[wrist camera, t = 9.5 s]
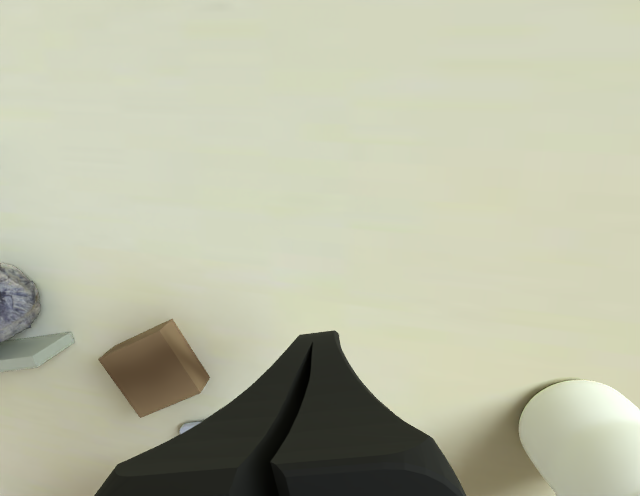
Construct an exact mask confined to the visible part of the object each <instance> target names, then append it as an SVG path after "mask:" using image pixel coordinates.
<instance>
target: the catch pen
mask: <svg viewBox="0 0 640 496" xmlns="http://www.w3.org/2000/svg"><path fill="white" fill-rule="evenodd" d="M73 343H74V339H73V337H72V334H71V332H68V333H60V334H53V335H46V336H39V337H32V338H24V339H17V340H10V341H3V342H0V372H6V371H14V370H21V369H29V368H37V367H39V366H40V365H42V364H43V363H45V362H46V361H48V360H49V359H51V358H52V357H53V356H55V355H56V354H58V353H59V352H61V351H62V350H64V349H65V348H67V347H68V346H70V345H71V344H73Z"/></svg>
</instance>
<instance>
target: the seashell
mask: <svg viewBox="0 0 640 496" xmlns="http://www.w3.org/2000/svg"><path fill="white" fill-rule="evenodd" d="M39 312H40V303H39V293H38V290H37V288H36V286H35V284H34V282H33V281H30V280H28V278H27V277H26V276H25V275H24V274H23V273H22V272H21V271H20V270H19V269H18V268H16V267H14V266H11V265H7V264H5V263H0V342H3V341H5V340H7V339H9V338H10V337H13V336H14V335H15V334H17V333H20V332H22V330H25V329H28V328H31V325H30V324H31V323H32V322H33V320H34V319H36V318H37V315H38V314H39Z"/></svg>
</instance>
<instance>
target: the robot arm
mask: <svg viewBox="0 0 640 496" xmlns="http://www.w3.org/2000/svg"><path fill="white" fill-rule="evenodd" d="M179 431H180V435H178V436H176V437H174V438H173V439H171V440H169V441H167V442H165V443H163V444H161V445H159V446H157V447H155V448H153V449H150V450H148V451H146V452H144V453H142V454H140V455H138V456H135V457H133V458H131V459H129V460H127V461H124V462H122V463H120V464H118V465H117V466H116V467H115V469H114V470H113V471H112V473H111V474H110V475H109V477H108V478H107V479H106V481H105V482H104V483H103V485H102V486H101V487H100V489H99V490H98V491H97V493H96V494H95V496H466V494H465V492H464V490H463V488H462V486H461V484H460V482H459V480H458V478H457V476H456V475H455V473H454V471H453V469H452V468H451V466H450V464H449V463H448V461H447V459H446V458H445V456H444V455H443V453H442V452H441V450H440V449H439V447H438V445H437V444H436V443H435V441H434V440H433V438H431V437H430V436H429V435H427V434H425V433H423V432H422V431H420V430H418V429H416V428H415V427H413V426H411V425H410V424H408V423H406V422H404V421H403V420H402V419H400V418H399V417H398V416H396V415H395V414H394V413H393V412H392V411H390V410H389V409H388V408H387V407H386V406H385V405H383V404H382V403H381V402H380V401H379V400H378V399H377V398H376V397H375V396H374V395H373V394H372V393H371V392H370V391H369V390H368V389H367V387H366V386H365V385H364V384H363V383H362V381H361V380H360V379H359V378H358V376H357V375H356V373H355V372H354V370H353V369H352V367H351V366H350V364H349V363H348V361H347V359H346V357H345V355H344V353H343V351H342V349H341V346H340V340H339V334H338V333H337V332H336V331H327V332H319V333H311V334H303V335H299V336H298V337H297V338H296V339H295V341H294V342H293V343H292V344H291V345H290V346H289V347H288V349H287V350H286V351H285V352H284V353H283V354H282V355H281V356H280V357H279V359H278V360H277V361H276V362H275V363H274V364H273V365H272V366H271V367H270V368H269V369H268V370H267V371H266V372H265V373H264V374H263V375H262V376H261V377H260V378H259V379H258V380H257V381H256V382H255V383H253V384H252V385H251V386H250V387H249V388H248V389H247V390H245V391H244V392H243V393H242V394H240V395H239V396H238V397H237V398H235V399H234V400H233V401H232V402H230V403H229V404H228V405H226V406H225V407H223V408H222V409H220V410H219V411H217V412H216V413H214V414H213V415H211V416H210V417H208V418H207V419H205V420H204V421H202V422H193V423H185V424H183V425H182V426H181V428H180V430H179Z"/></svg>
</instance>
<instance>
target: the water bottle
mask: <svg viewBox="0 0 640 496" xmlns="http://www.w3.org/2000/svg"><path fill="white" fill-rule="evenodd" d="M519 437H520V441H521V443H522V445H523V448H524V450H525V451H526V453H527V455H528V456H529V458H530V459H531V461H532V463H533V464H534V466H535V467H536V468H537V470H538V471H539V473H540V474H541V476H542V477H543V478H544V480H545V481H546V482H547V483H548V485H549V486H550V487H551V488H552V489H553V491H554V492H555V493H556V496H640V409H638V408H637V407H636V406H635V405H634V404H633V403H632V402H630V401H629V400H628V399H627V398H626V397H624V396H623V395H622V394H621V393H619V392H618V391H616V390H615V389H613V388H611V387H609V386H607V385H605V384H602V383H599V382H595V381H590V380H569V381H564V382H560V383H556V384H554V385H551V386H549V387H547V388H545V389H543V390H542V391H540V392H539V393H537V394H536V395H535V396H534V397H533V398H532V399H531V400H530V401H529V402H528V404H527V405H526V406H525V408H524V410H523V412H522V414H521V417H520V421H519Z"/></svg>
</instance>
